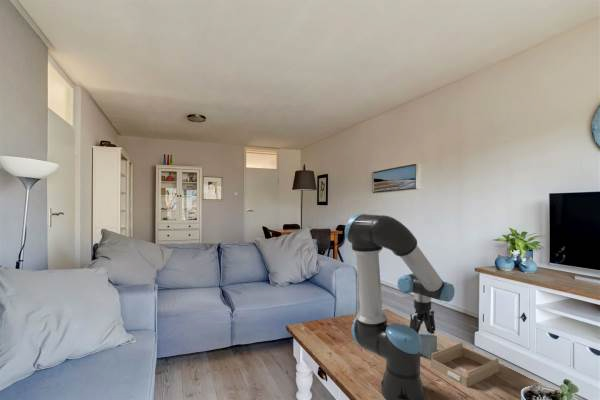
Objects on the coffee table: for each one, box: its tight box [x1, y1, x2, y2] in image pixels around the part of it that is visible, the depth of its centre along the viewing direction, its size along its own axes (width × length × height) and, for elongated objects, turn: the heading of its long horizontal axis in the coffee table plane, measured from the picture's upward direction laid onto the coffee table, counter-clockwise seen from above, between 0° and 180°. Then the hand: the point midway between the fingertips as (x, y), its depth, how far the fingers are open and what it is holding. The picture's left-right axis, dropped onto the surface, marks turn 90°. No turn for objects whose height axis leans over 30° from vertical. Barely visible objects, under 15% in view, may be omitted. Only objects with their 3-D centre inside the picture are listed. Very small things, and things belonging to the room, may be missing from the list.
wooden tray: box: [430, 342, 500, 388], centre depth 125 cm, size 22×16×6 cm
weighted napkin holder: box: [418, 328, 438, 360], centre depth 141 cm, size 5×12×9 cm, turn 29°
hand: (422, 348), depth 141 cm, fingers open, 8 cm apart
